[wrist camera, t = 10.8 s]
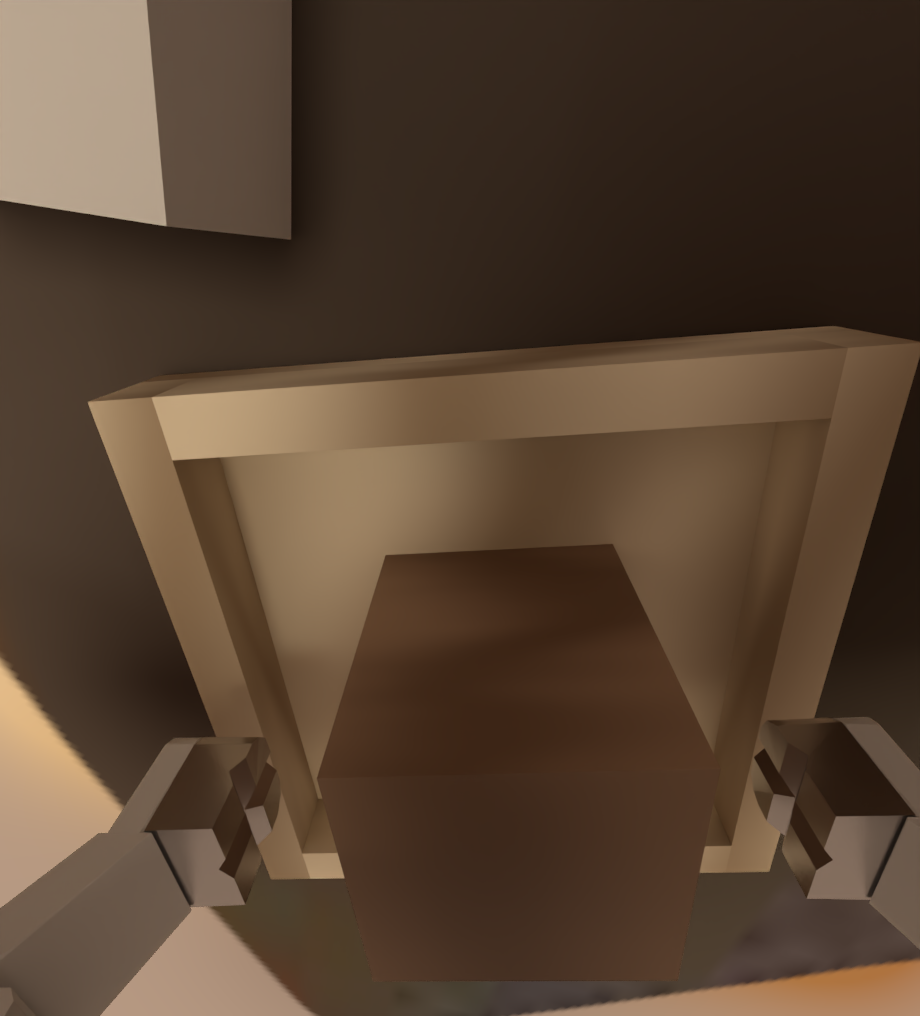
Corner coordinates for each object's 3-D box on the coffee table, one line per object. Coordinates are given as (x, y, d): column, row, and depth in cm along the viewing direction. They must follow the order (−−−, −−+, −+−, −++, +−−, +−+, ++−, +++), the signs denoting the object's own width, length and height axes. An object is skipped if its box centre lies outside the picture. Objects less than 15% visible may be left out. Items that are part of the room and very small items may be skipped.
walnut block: (612, 543, 10) (720, 768, 6) (602, 712, 12) (677, 981, 8) (385, 555, 10) (317, 778, 6) (410, 718, 12) (373, 981, 8)
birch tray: (833, 325, 9) (923, 342, 7) (731, 793, 14) (769, 871, 12) (160, 375, 10) (87, 402, 8) (296, 803, 15) (270, 879, 13)
